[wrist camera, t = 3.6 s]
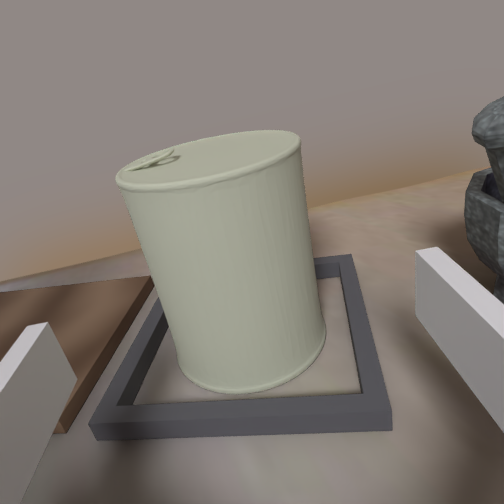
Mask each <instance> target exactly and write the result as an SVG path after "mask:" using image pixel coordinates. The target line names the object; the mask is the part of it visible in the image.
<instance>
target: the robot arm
mask: <svg viewBox="0 0 504 504" xmlns="http://www.w3.org/2000/svg"><path fill="white" fill-rule="evenodd" d="M415 315H416V317H417V318H418V319H419V321H420V322H421V323H422V325H423V326H424V327H425V329H426V330H427V331H428V333H429V334H430V335H431V337H432V338H433V339H434V341H435V342H436V343H437V345H438V346H439V347H440V349H441V350H442V351H443V353H444V354H445V355H446V357H447V358H448V359H449V361H450V362H451V363H452V365H453V366H454V367H455V369H456V370H457V371H458V373H459V374H460V375H461V377H462V378H463V379H464V381H465V382H466V383H467V385H468V386H469V387H470V389H471V390H472V391H473V393H474V394H475V395H476V397H477V398H478V399H479V401H480V402H481V403H482V405H483V406H484V407H485V409H486V410H487V411H488V413H489V414H490V415H491V417H492V418H493V419H494V421H495V422H496V423H497V425H498V426H499V427H500V429H501V430H502V431H503V433H504V304H503V303H502V302H500V301H499V300H498V299H497V298H496V297H495V296H493V295H492V294H491V293H490V292H489V291H488V290H487V289H485V288H484V287H483V286H482V285H481V284H480V283H479V282H477V281H476V280H475V279H474V278H473V277H472V276H471V275H469V274H468V273H467V272H466V271H465V270H464V269H462V268H461V267H460V266H459V265H458V264H457V263H456V262H454V261H453V260H452V259H451V258H450V257H449V256H448V255H446V254H445V253H444V252H443V251H442V250H441V249H440V248H438V247H433V248H428V249H423V250H417V251H415ZM76 381H77V377H76V375H75V373H74V372H73V370H72V368H71V366H70V364H69V362H68V360H67V358H66V356H65V354H64V352H63V350H62V348H61V346H60V344H59V342H58V340H57V339H56V337H55V335H54V333H53V331H52V329H51V327H50V325H49V323H48V322H45V323H40V324H35V325H30V326H27V327H26V328H25V329H24V331H23V332H22V333H21V335H20V336H19V338H18V339H17V340H16V342H15V343H14V344H13V346H12V347H11V348H10V350H9V351H8V352H7V354H6V355H5V356H4V358H3V359H2V360H1V362H0V504H20V503H21V501H22V499H23V496H24V494H25V492H26V490H27V488H28V486H29V483H30V481H31V479H32V477H33V475H34V473H35V470H36V468H37V466H38V464H39V462H40V460H41V457H42V455H43V453H44V451H45V449H46V446H47V444H48V442H49V440H50V438H51V436H52V433H53V431H54V429H55V427H56V425H57V423H58V420H59V418H60V416H61V414H62V412H63V410H64V407H65V405H66V403H67V401H68V399H69V397H70V394H71V392H72V390H73V388H74V386H75V384H76Z"/></svg>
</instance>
